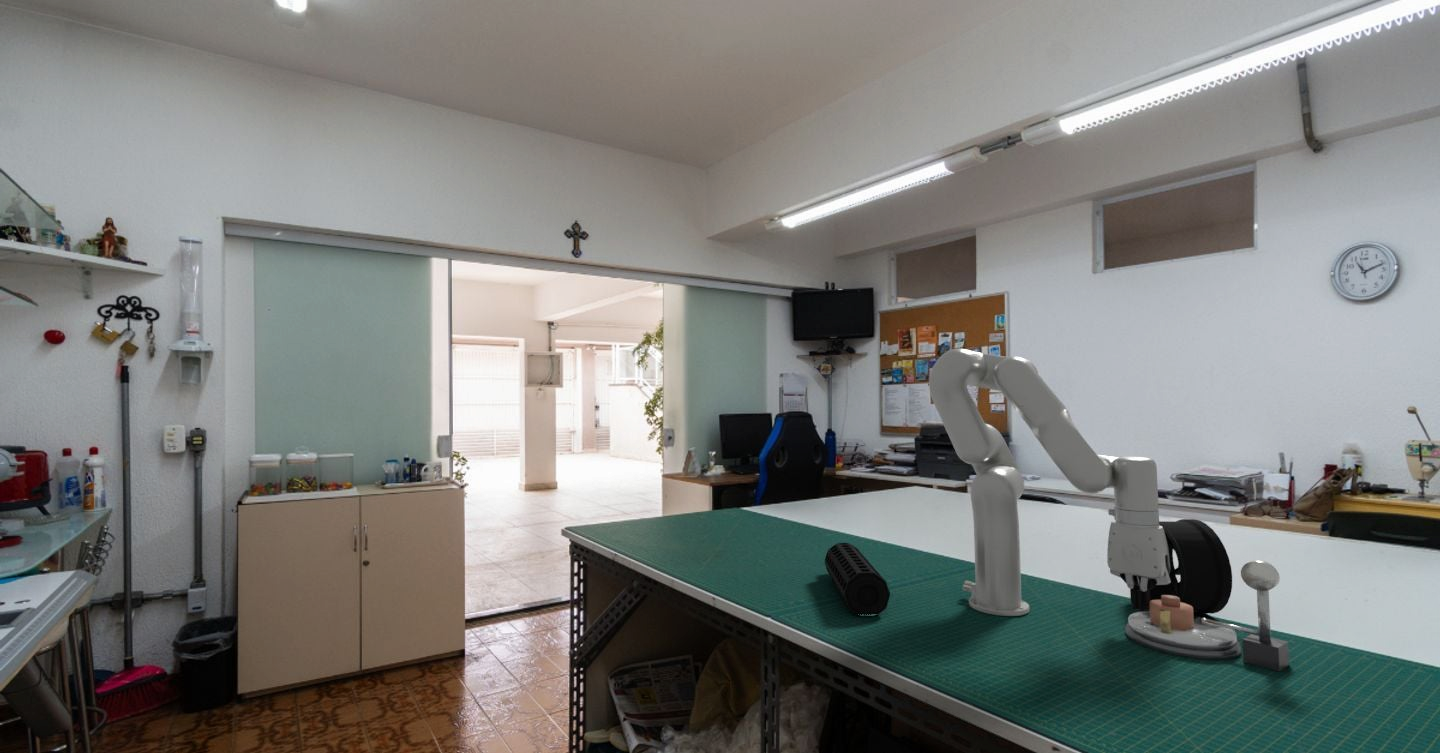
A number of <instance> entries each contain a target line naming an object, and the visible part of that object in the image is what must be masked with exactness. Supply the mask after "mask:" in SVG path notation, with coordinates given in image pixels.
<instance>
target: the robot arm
mask: <svg viewBox="0 0 1440 753" xmlns="http://www.w3.org/2000/svg"><path fill="white" fill-rule="evenodd" d="M928 381H929V382H928V388H929V392H930V396H931V399H932V402H933V404H934V406H935V407H934V408H935V409H936V411H937V412H938V416H939V418H940V419H941V422H942V425H943V427H944V428H945V431H946V433H947V435H948V437H949V440H950V442H951V444H952V446H953V448H954V450H955V453H956V455H957V457H958V458H959V459H960V460H961V461H963V463H966V464H968V465H971V466H972V468H973V470H974V473H975V476H974V478H973V480H972V483H971V485H970V501H971V507H972V508H971V509H972V517H973V518H972V519H973V536H974V537H973V538H974V539H973V540H974V574H975V575H974V576H975V580H974V581H975V582H973V581H970V580H965V581H963V585H962V587H961V589H962V591H964V592H968V593H970V594H971V597H970V598H969V599H968V605H969V607H971V609H973V610H975V611H977V612H981V613H984V614H988V615H993V616H1001V617H1002V616H1003V617H1018V616H1019V617H1020V616H1024V615H1027V614H1028V613H1029V612H1030V604H1029V603H1028V602H1027V601H1024V600H1022V581H1021V580H1022V579H1021V578H1022V576H1021V575H1022V574H1021V573H1022V572H1021V545H1020V544H1021V543H1020V539H1021V538H1020V522H1019V521H1020V520H1019V511H1018V500H1019V499H1020V498H1021V496H1022V495H1023V493H1024V490H1025V481H1024V477H1023V475H1022V472H1021V470H1020V469H1019V467H1018V464H1017V463H1016V460H1015V459H1014V456H1013V454H1012V452H1011V451H1010V449H1009V447H1008V444H1007V442H1006V440H1005V439H1004V437H1003V435H1002V433H1001V432H1000V431H999V430H998V429H997V428H995V427H994V426H993V425H991V424H989V423H985V421H984V419H983V416H982V415H981V413H980V411H979V409H978V407H977V404H976V402H975V401H974V399H973V397H972V396H971V394H970V392H969V390H968V389H969V388H968V386H971V387H977V388H982V389H988V390H994V391H998V392H1001V394H1002V395H1003V396H1004V397H1005V399H1006V400H1007V401H1008V402H1009V403H1010V404H1011V406H1012V407H1013V409H1014V410H1015V411H1016V412H1017V413H1018V415H1019V416H1020V418H1022V420H1023V421H1024V423H1025V424H1026V425H1027V427H1028V428H1029V429H1030V431H1031V432H1032V433H1033V435H1034V437H1035V438H1036V439H1037V440H1038V442H1039V443H1040V445H1041V446H1042V447H1043V449H1044V450H1045V452H1046V453H1047V455H1048V456H1049V457H1050V458H1051V460H1052V461H1053V463H1054V464H1055V465H1056V467H1057V468H1058V469H1059V470H1060V472H1061V473H1062V474H1063V475H1064V477H1065V478H1066V479H1067V480H1068V482H1069V483H1070V484H1071V485H1072V486H1073V488H1076V489H1077V490H1078V491H1080V492H1082V493H1085V494H1098V493H1101V492H1104V490H1106V489H1113V491H1114V492H1113V493H1114V494H1113V495H1114V506H1113V508H1109V509H1108V511H1107V512H1108V513H1107V514H1108V515H1109V516H1112V517H1113V519H1114V521H1111V522H1110V527H1109V531H1108V539H1107V558H1106V560H1107V567H1108V568H1109V573H1110V574H1111V575H1113V576H1116V577H1118V578H1121V579H1122V580H1123V582H1124V583H1125V584H1126V587H1127V588H1128V589H1129V591H1130V592H1129V593H1130V596H1129V597H1130V603H1131V604H1132V609H1133V610H1134V611H1135V610H1138V611H1139V612H1144V611H1147V610H1148V609H1149V608H1150V607H1149V606H1150V605H1149V602H1150V589H1152V588H1153V587H1154V586H1156V585H1167V584H1170V583H1171V581H1170V577H1169V573H1170V558H1169V550H1168V545H1167V540H1166V536H1165V532H1164V529H1163V527H1162V526H1159V521H1160V509H1159V493H1158V492H1159V488H1158V487H1159V486H1158V485H1159V484H1158V469H1157V468H1158V467H1157V463H1156V461H1155V460H1154V459H1153V458H1149V457H1146V456H1145V457H1144V456H1120V457H1118V456H1108V455H1103V454H1097V453H1096V452H1095V451H1094V449H1093V448H1092V447H1091V445H1089V444H1088V442H1087V441H1086V439H1085V438H1084V437H1083V436H1082V434H1081V433H1080V432H1079V430H1078V428H1077V427H1076V425H1075V423H1074V422H1073V420H1072V417H1071V414H1070V411H1069V410H1068V409H1067V407H1066V405H1065V404H1064V403H1063V402H1062V401H1061V399H1060V398H1058V396H1057V395H1056V394H1055V392H1053V391H1052V389H1051V388H1050V387H1049V385H1048V384H1047V383H1046V382H1045V381H1044V380H1043V378H1042V377H1041V375H1039V371H1038V369H1037V367H1036V365H1035V364H1034V363H1032V362H1031V361H1030V360H1029V359H1027V358H1023V357H1020V356H1002V355H996V354H989V353H985V352H980V351H979V352H978V351H974V350H971V349H966V348H953V349H949V350H948V351H945V352H944V353H943V354H941V356H940V357H939V358H938V359H937V360H936V362H935V363H934V364H933V366H932V368H931V371H930V374H929V380H928ZM1138 576H1140V577H1141V583H1139V578H1138Z"/></svg>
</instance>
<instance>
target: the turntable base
mask: <svg viewBox="0 0 1440 753" xmlns="http://www.w3.org/2000/svg"><path fill="white" fill-rule="evenodd" d="M1125 635H1126V636H1127V637H1128V638H1129V639H1130V640H1131V641H1133V642H1134V643H1136V644H1138V645H1141V646H1143V647H1145V648H1149V649H1151V650H1153V651H1158V652H1161V653H1164V654H1169V655H1172V656H1173V655H1174V656H1176V657H1183V658H1184V657H1185V658H1189V659H1190V658H1191V659H1198V660H1209V661H1210V660H1213V661H1215V660H1218V661H1220V660H1223V661H1224V660H1230V659H1236V658H1237V657H1239V656H1240V655H1241V654H1242V647H1241V646H1242V644H1241V643H1240V641H1239V640H1237V645H1236V646H1235V647H1233V648H1230V649H1225V650H1200V649H1190V648H1183V647H1178V646H1173V645H1168V644H1164V643H1160V642H1157V641H1154V640H1151V639H1148V638H1145V637H1143V636H1140V635H1138V634H1137V633H1135V632H1133V631H1132V630H1131V629H1130V628H1129V623H1128V622H1127V624H1125Z"/></svg>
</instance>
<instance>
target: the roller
mask: <svg viewBox="0 0 1440 753" xmlns="http://www.w3.org/2000/svg"><path fill="white" fill-rule="evenodd" d="M824 565H825V569H826V571H827V573H828V574H829V576H830V578H831V580H832V582H833V584H834V585H835V587H836V589H837V590H838V592H839V593H840V595H841V597H842V599H843V600H844V603H845V604H846V606H847V608H848V609H849V610H850V611H851V612H853V613H854V614H856V615H857V614H859V615H860V614H861V615H862V614H864V615H865V614H866V615H867V614H868V615H869V614H870V615H871V614H878V615H879V614H881V613H882V612H884V611H885V610H886V609H887V606H888V603H889V601H890V597H891V593H890V589H889V585H888V584H887V581H886V580H885V578H884V577H883V576H882V575H881V574H880V573H879V571H878V570H876V568H875V567H874V565H872V564H871V563H870V562H869V560H868V559H867V558H866V557H865V556H864V555H863V553H862V552H861V551H860V550H859V549H858V548H857V547H856V546H855V545H853V543H852V544H851V543H850V542H837V543H835V544H834V545H832V546H831V547H830V548H829V549H827V551H826V555H825V558H824Z"/></svg>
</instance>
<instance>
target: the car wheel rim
mask: <svg viewBox="0 0 1440 753" xmlns="http://www.w3.org/2000/svg"><path fill="white" fill-rule="evenodd" d="M1159 526H1162V527H1163V529H1164V532H1165V536H1166V540H1167V545H1168V550H1169V558H1170V573H1169V577H1170V581H1171V583H1170V584H1167V585H1156V586H1154V587H1153V588H1152V589H1150V601H1151V600H1161V596H1162V595H1172V596H1176V597H1179V598H1180V602H1182V603H1185V604H1188V605H1190V606H1192V607H1193V613H1196V614H1197V613H1198V614H1216V613H1219V612H1221V611H1222V610H1223V609H1224V608H1225V607H1226V606H1227V604H1228V603H1229V600H1230V598H1231V595H1232V589H1233V573H1232V572H1233V571H1232V566H1231V562H1230V558H1229V555H1228V552H1227V549H1226V548H1225V545H1224V543H1223V541H1222V540H1221V538H1220V536H1219V535H1218V534H1217V533H1216V532H1215V531H1214V529H1213V528H1212V527H1211V526H1209V525H1208V524H1207V523H1205V522H1204V521H1201V520H1198V519H1194V518H1192V519H1191V518H1188V519H1186V518H1184V519H1182V518H1181V519H1178V520H1176V521H1169V520H1168V521H1161V520H1159ZM1173 551H1174V552H1175V554H1176V557H1177V567H1175V564H1174V554H1173V553H1174V552H1173ZM1177 576H1180V578H1179V580H1180V581H1178V579H1177V578H1178V577H1177ZM1138 578H1139V583H1141V577H1140V576H1138ZM1148 608H1150V606H1149V607H1148Z"/></svg>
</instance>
